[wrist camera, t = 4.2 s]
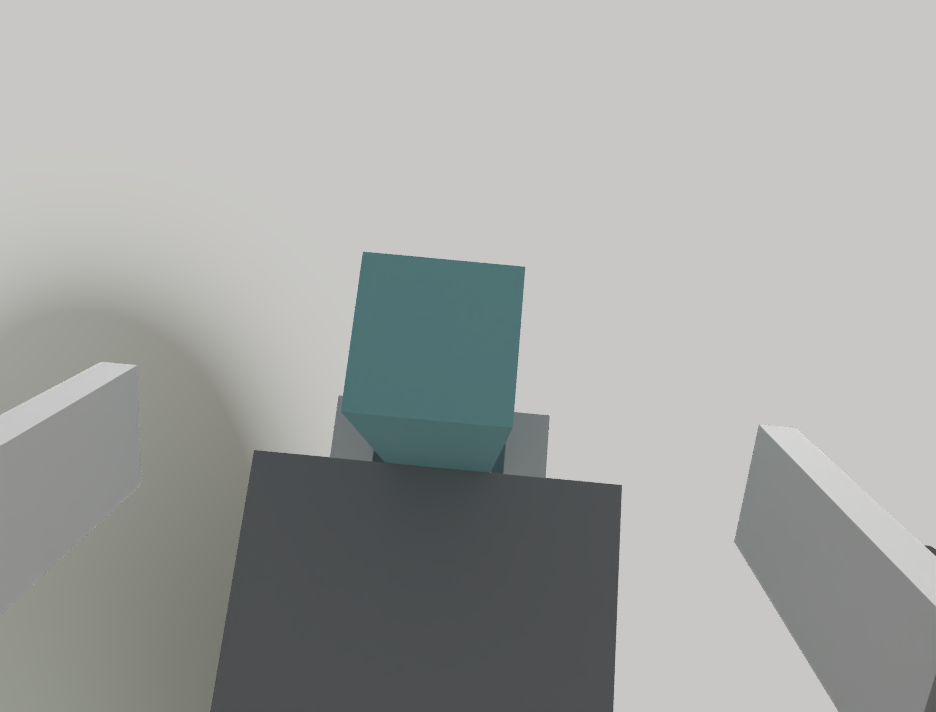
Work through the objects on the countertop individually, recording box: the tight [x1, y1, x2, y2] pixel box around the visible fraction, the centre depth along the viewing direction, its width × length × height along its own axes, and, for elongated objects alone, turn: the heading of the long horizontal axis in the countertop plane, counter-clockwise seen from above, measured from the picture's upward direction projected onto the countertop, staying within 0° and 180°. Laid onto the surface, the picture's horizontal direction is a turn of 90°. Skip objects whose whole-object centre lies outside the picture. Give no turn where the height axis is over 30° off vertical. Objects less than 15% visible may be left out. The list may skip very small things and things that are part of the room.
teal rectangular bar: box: [341, 252, 525, 473], centre depth 30 cm, size 26×4×4 cm, turn 1°
